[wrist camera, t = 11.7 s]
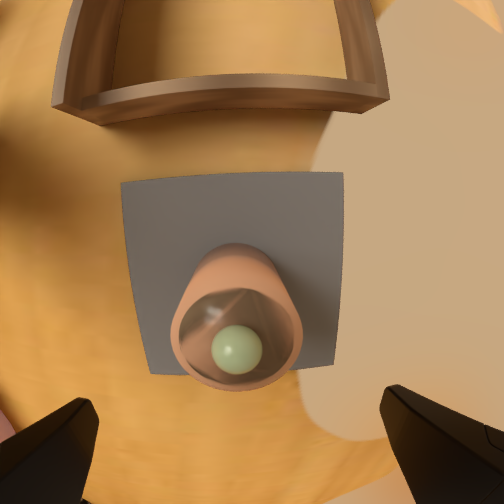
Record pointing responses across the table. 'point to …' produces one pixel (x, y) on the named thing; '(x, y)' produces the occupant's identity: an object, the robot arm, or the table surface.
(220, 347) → the terracotta pot
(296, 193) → the mat
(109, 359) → the table surface
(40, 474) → the robot arm
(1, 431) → the lavender two-hole holder
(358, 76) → the frame
